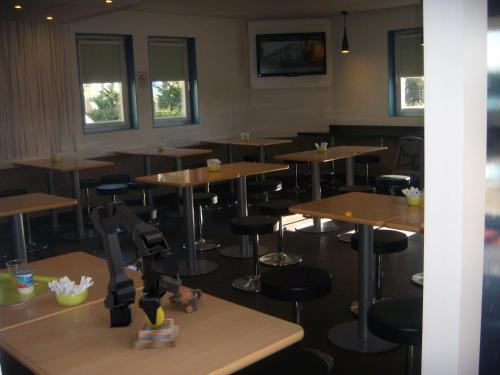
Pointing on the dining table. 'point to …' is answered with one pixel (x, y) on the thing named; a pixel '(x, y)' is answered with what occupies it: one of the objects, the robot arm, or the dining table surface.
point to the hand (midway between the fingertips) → (155, 320)
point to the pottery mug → (187, 298)
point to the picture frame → (157, 335)
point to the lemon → (159, 318)
